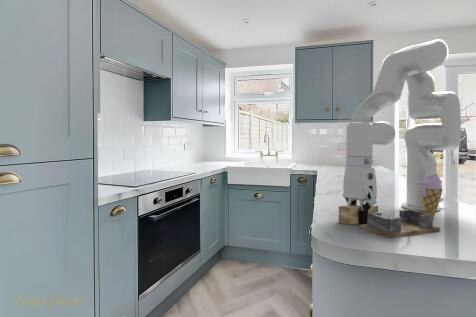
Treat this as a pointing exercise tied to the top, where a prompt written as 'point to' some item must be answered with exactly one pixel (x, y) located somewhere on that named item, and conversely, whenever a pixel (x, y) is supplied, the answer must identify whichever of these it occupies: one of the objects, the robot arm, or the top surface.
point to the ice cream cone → (431, 192)
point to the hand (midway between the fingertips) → (358, 220)
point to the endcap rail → (401, 224)
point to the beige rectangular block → (352, 213)
